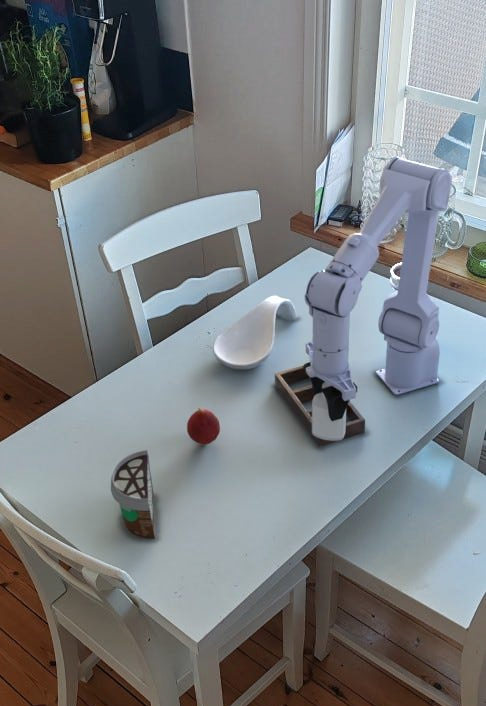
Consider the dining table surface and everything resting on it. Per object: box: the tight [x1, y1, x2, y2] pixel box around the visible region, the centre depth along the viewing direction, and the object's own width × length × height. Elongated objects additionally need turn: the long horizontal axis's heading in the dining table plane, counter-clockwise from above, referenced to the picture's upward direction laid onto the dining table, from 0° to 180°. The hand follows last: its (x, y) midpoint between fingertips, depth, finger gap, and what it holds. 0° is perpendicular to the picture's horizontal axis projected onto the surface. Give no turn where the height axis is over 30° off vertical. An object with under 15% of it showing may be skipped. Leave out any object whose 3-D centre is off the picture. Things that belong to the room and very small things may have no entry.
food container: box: [110, 449, 156, 540], centre depth 149 cm, size 12×6×10 cm, turn 5°
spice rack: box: [274, 364, 366, 448], centre depth 170 cm, size 9×19×3 cm, turn 22°
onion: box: [186, 407, 221, 445], centre depth 163 cm, size 6×6×8 cm
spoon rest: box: [212, 295, 298, 370], centre depth 184 cm, size 24×12×7 cm, turn 150°
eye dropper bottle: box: [311, 382, 347, 442], centre depth 154 cm, size 4×6×12 cm
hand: (329, 409), depth 155 cm, fingers closed on eye dropper bottle, 5 cm apart
